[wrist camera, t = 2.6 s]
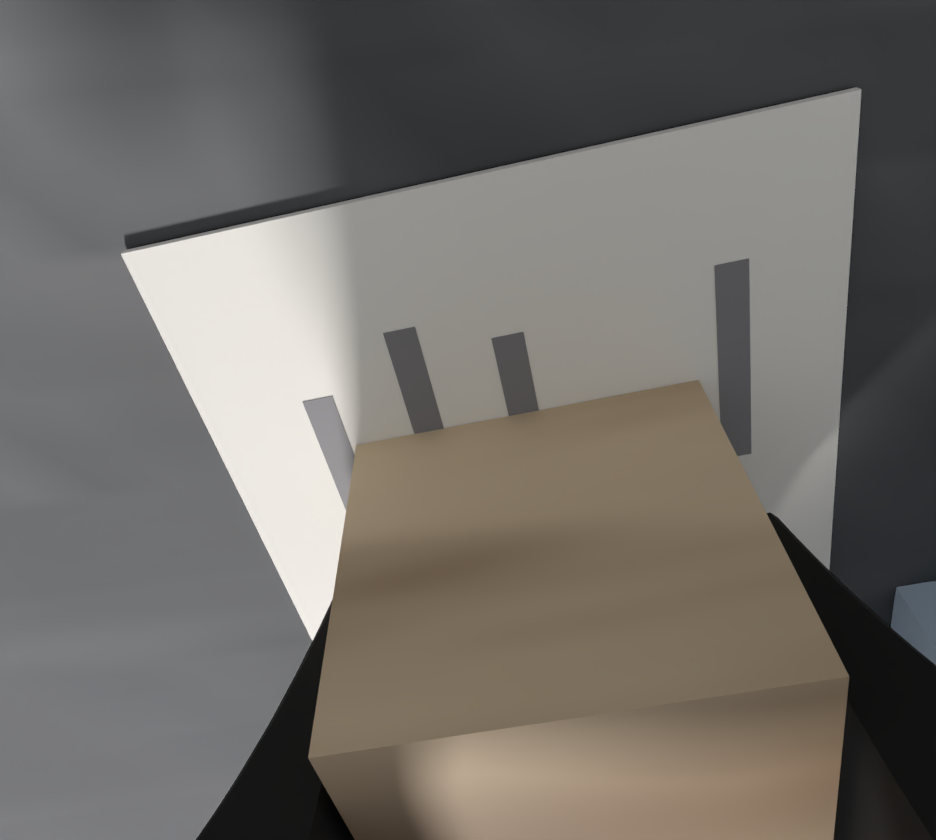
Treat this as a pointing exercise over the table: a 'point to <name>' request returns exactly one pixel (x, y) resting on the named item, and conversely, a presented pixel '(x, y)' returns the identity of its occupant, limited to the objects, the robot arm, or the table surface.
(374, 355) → the letter
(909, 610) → the blue cube
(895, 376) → the table surface
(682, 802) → the oak block
